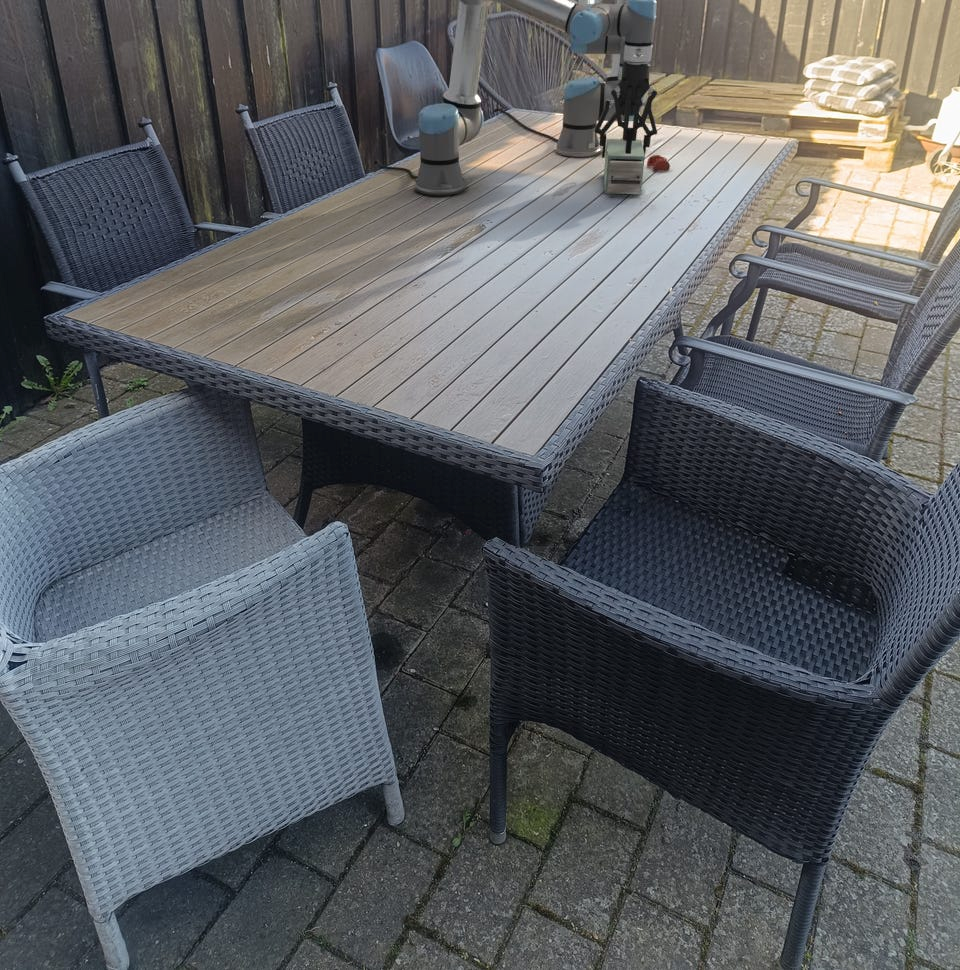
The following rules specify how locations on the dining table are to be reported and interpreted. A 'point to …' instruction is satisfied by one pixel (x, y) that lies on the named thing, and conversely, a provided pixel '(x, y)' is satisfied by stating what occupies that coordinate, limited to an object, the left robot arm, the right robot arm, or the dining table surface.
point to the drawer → (625, 176)
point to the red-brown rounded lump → (658, 163)
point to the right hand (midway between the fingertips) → (623, 157)
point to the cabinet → (621, 156)
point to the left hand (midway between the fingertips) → (627, 152)
